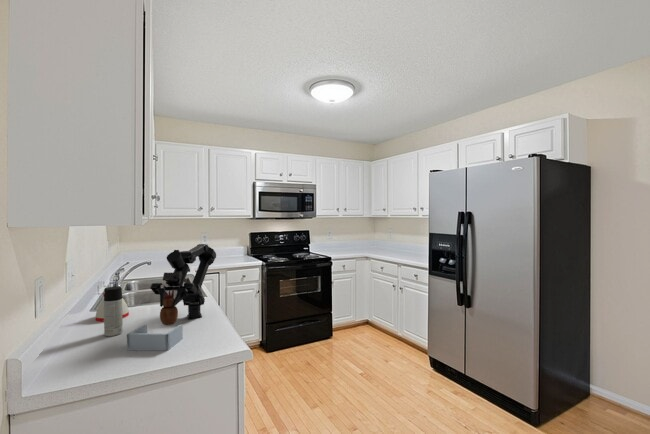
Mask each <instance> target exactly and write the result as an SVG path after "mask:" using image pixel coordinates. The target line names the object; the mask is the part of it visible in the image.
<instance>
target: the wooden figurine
mask: <svg viewBox="0 0 650 434" xmlns="http://www.w3.org/2000/svg"><path fill="white" fill-rule="evenodd" d="M174 293H175V292H174V289H173V290H172V291H170V290H169V291H168V292H166V295H164V299H163V302H162V305H163V306H162V307H161V309H160V312H159V319H160V322H161V324H162V325H164V326H172V325H174V324H176V323H177V320H178V315H179V311H178V307H177V305H176V306H175V307H173V302H174V300H175V298H174V297H175V294H174Z"/></svg>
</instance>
